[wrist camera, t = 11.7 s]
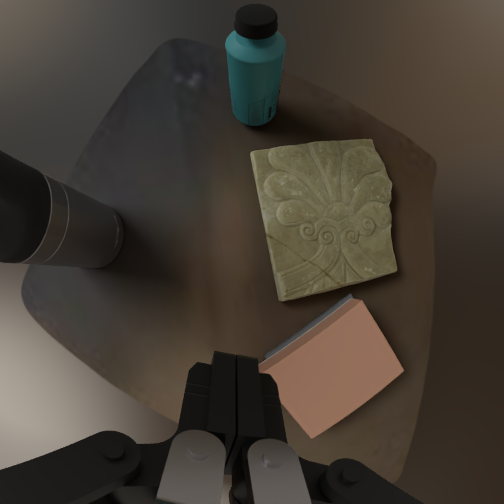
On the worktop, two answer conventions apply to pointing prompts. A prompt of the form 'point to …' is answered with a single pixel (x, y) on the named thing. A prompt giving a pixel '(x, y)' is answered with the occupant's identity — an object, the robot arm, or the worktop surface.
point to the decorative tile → (324, 215)
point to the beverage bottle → (255, 64)
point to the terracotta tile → (333, 368)
